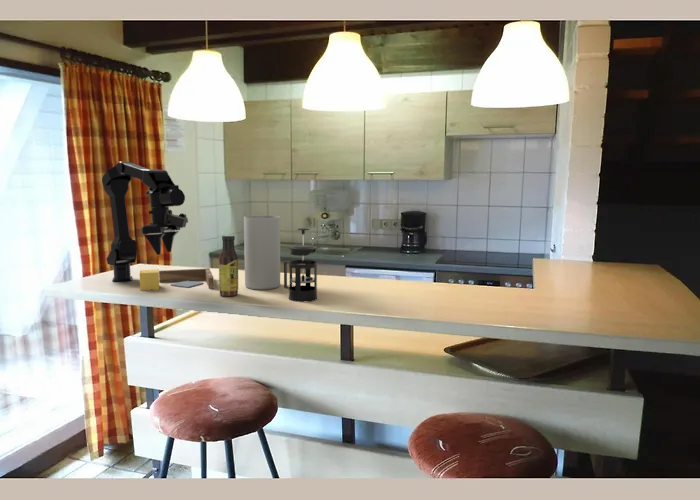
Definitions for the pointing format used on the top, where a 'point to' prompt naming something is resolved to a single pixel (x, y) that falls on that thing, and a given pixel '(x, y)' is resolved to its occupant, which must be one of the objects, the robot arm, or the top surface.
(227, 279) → the sauce bottle
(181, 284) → the pad
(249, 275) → the cylinder vase
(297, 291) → the french press
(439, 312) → the top surface
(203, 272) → the corner arena
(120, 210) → the robot arm
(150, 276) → the ochre cube
